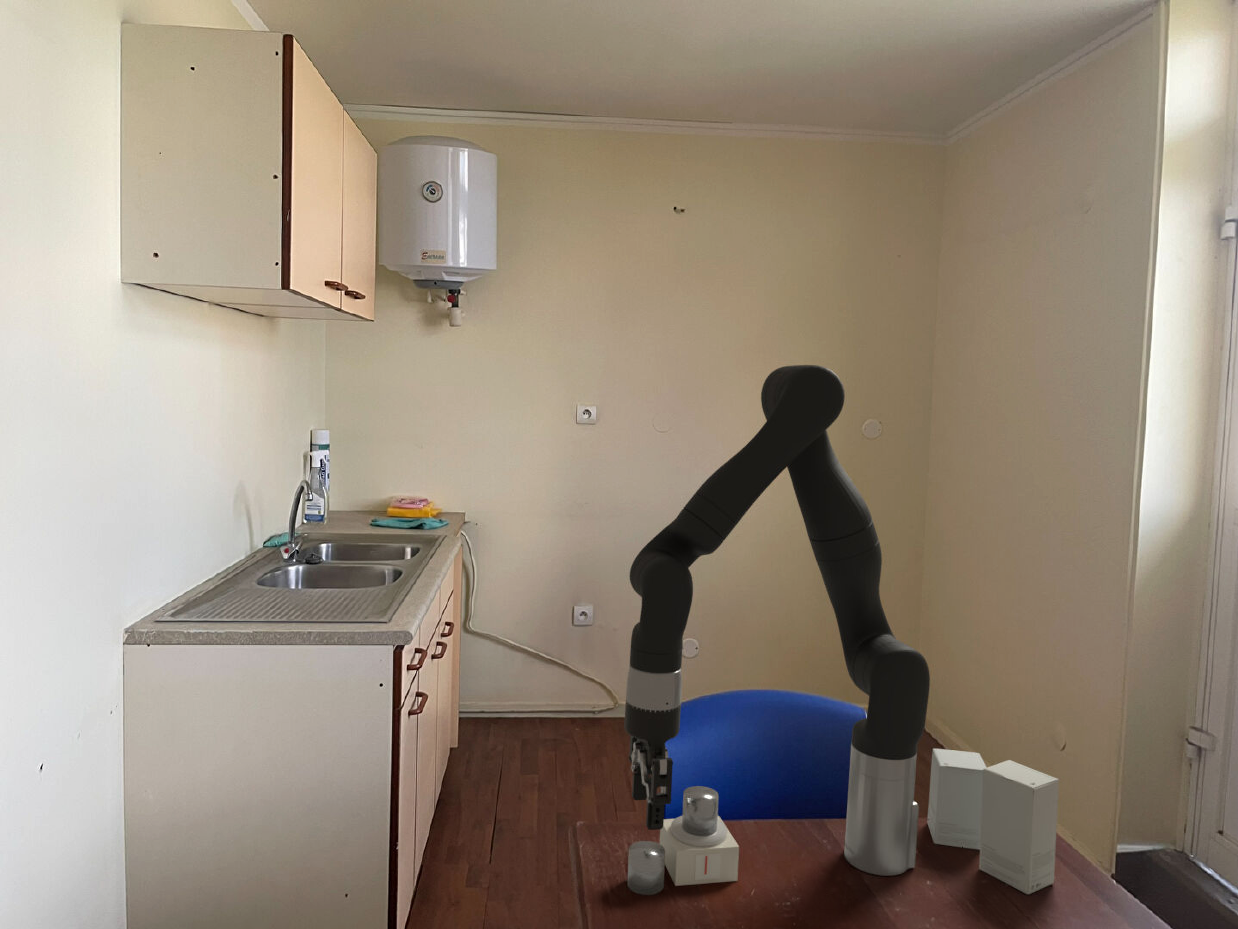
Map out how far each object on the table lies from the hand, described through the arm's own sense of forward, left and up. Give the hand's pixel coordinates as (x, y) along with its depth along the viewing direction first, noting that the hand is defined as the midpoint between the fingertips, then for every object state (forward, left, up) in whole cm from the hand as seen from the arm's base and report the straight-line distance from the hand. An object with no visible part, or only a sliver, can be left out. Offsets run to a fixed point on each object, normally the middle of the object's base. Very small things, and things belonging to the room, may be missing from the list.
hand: (646, 813), depth 122 cm
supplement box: (-52, -7, -11) cm, 53 cm away
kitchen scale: (-9, -4, -10) cm, 14 cm away
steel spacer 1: (0, 0, -10) cm, 10 cm away
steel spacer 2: (-9, -4, -4) cm, 10 cm away
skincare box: (-54, +5, -10) cm, 55 cm away
